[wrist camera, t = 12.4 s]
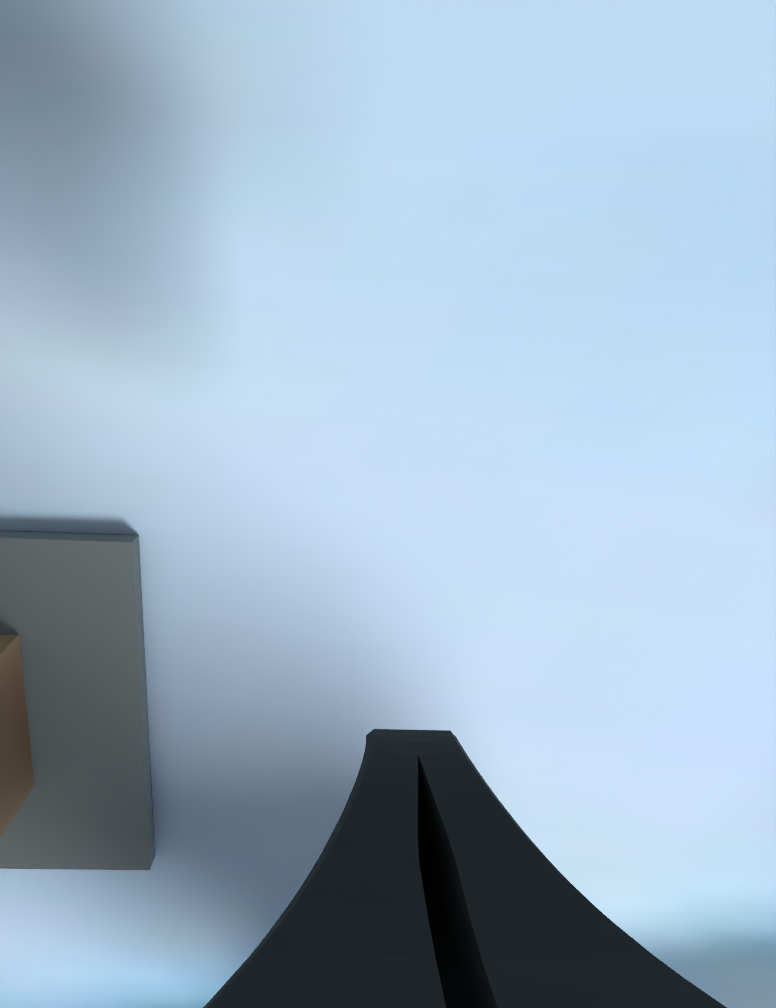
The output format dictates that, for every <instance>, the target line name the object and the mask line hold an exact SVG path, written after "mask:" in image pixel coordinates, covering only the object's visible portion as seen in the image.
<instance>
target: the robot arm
mask: <svg viewBox="0 0 776 1008" xmlns="http://www.w3.org/2000/svg"><path fill="white" fill-rule="evenodd" d="M203 1008H726V1007H725V1006H724V1005H722V1004H721V1003H719V1002H718V1001H716V1000H715V999H713V998H712V997H711V996H709V995H708V994H706V993H705V992H703V991H702V990H700V989H699V988H697V987H696V986H695V985H693V984H692V983H690V982H689V981H687V980H686V979H684V978H683V977H682V976H680V975H679V974H678V973H676V972H675V971H674V970H672V969H671V968H670V967H668V966H667V965H666V964H664V963H663V962H662V961H660V960H659V959H658V958H656V957H655V956H654V955H652V954H651V953H650V952H649V951H647V950H646V949H645V948H644V947H642V946H641V945H640V944H639V943H638V942H636V941H635V940H634V939H633V938H631V937H630V936H629V935H628V934H627V933H625V932H624V931H623V930H622V929H620V928H619V927H618V926H617V925H615V924H614V923H613V922H612V921H611V920H610V919H609V918H607V917H606V916H605V915H604V914H603V913H602V912H601V911H599V910H598V909H597V908H596V907H595V906H594V905H593V904H592V903H591V902H590V901H589V900H588V899H587V898H585V897H584V896H583V895H582V894H581V893H580V892H579V891H578V890H577V889H576V888H575V887H574V886H573V885H572V884H571V883H570V882H569V881H568V880H567V879H566V878H565V877H564V876H563V875H562V874H561V873H560V872H559V871H558V870H557V869H556V868H555V867H554V865H553V864H552V863H551V862H550V861H549V860H548V859H547V858H546V857H545V856H544V854H543V853H542V852H541V851H540V850H539V849H538V848H537V846H536V845H535V844H534V843H533V842H532V841H531V840H530V839H529V837H528V836H527V835H526V834H525V833H524V831H523V830H522V829H521V828H520V826H519V825H518V824H517V823H516V822H515V820H514V819H513V818H512V816H511V815H510V814H509V813H508V811H507V810H506V809H505V807H504V806H503V805H502V804H501V802H500V801H499V800H498V798H497V797H496V796H495V794H494V793H493V792H492V790H491V789H490V788H489V786H488V785H487V783H486V782H485V781H484V779H483V778H482V776H481V775H480V773H479V772H478V770H477V769H476V768H475V766H474V765H473V763H472V762H471V760H470V759H469V757H468V756H467V754H466V752H465V751H464V749H463V748H462V746H461V744H460V743H459V741H458V740H457V738H456V737H455V736H454V735H453V733H452V732H451V731H439V730H390V729H374V730H372V731H371V732H370V733H369V734H367V735H366V748H365V753H364V757H363V761H362V764H361V767H360V770H359V773H358V776H357V779H356V782H355V784H354V787H353V789H352V792H351V794H350V796H349V799H348V801H347V803H346V806H345V808H344V811H343V813H342V815H341V817H340V819H339V821H338V823H337V825H336V827H335V829H334V831H333V833H332V834H331V836H330V838H329V840H328V842H327V844H326V846H325V848H324V850H323V852H322V853H321V855H320V857H319V859H318V860H317V862H316V864H315V865H314V867H313V869H312V870H311V872H310V874H309V875H308V877H307V879H306V880H305V882H304V883H303V885H302V886H301V888H300V889H299V891H298V892H297V894H296V895H295V897H294V898H293V900H292V901H291V903H290V904H289V906H288V907H287V908H286V910H285V911H284V912H283V914H282V915H281V916H280V918H279V919H278V920H277V922H276V923H275V925H274V926H273V927H272V929H271V930H270V931H269V933H268V934H267V935H266V937H265V938H264V939H263V940H262V942H261V943H260V944H259V945H258V947H257V948H256V949H255V950H254V952H253V953H252V954H251V955H250V956H249V958H248V959H247V960H246V961H245V962H244V963H243V964H242V965H241V967H240V968H239V969H238V970H237V971H236V972H235V973H234V974H233V976H232V977H231V978H230V979H229V980H228V981H227V982H226V983H225V984H224V986H223V987H222V988H221V989H220V990H219V991H218V992H217V993H216V995H215V996H214V997H213V998H212V999H211V1000H210V1001H209V1002H208V1003H207V1004H206V1005H205V1006H204V1007H203Z"/></svg>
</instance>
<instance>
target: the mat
mask: <svg viewBox="0 0 776 1008" xmlns="http://www.w3.org/2000/svg"><path fill="white" fill-rule="evenodd" d="M0 634H1V635H19V642H20V652H21V662H22V672H23V682H24V691H25V701H26V711H27V721H28V731H29V740H30V750H31V760H32V770H33V780H34V787H33V788H32V790H31V791H30V793H29V794H28V796H27V798H26V799H25V801H24V802H23V804H22V805H21V807H20V808H19V810H18V811H17V813H16V814H15V816H14V818H13V819H12V821H11V822H10V824H9V825H8V827H7V828H6V830H5V831H4V833H3V835H2V836H1V838H0V868H9V869H104V870H150V867H151V865H152V862H153V859H154V856H155V853H154V833H153V813H152V793H151V773H150V753H149V733H148V713H147V692H146V672H145V652H144V632H143V612H142V592H141V572H140V552H139V535H115V534H86V533H56V532H26V531H0Z"/></svg>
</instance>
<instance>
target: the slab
mask: <svg viewBox="0 0 776 1008" xmlns="http://www.w3.org/2000/svg"><path fill="white" fill-rule="evenodd" d="M33 787H34V780H33V770H32V760H31V750H30V740H29V731H28V721H27V711H26V701H25V691H24V682H23V672H22V662H21V652H20V642H19V635H1V634H0V838H1V836H2V835H3V833H4V831H5V830H6V828H7V827H8V825H9V824H10V822H11V821H12V819H13V818H14V816H15V814H16V813H17V811H18V810H19V808H20V807H21V805H22V804H23V802H24V801H25V799H26V798H27V796H28V794H29V793H30V791H31V790H32V788H33Z"/></svg>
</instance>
